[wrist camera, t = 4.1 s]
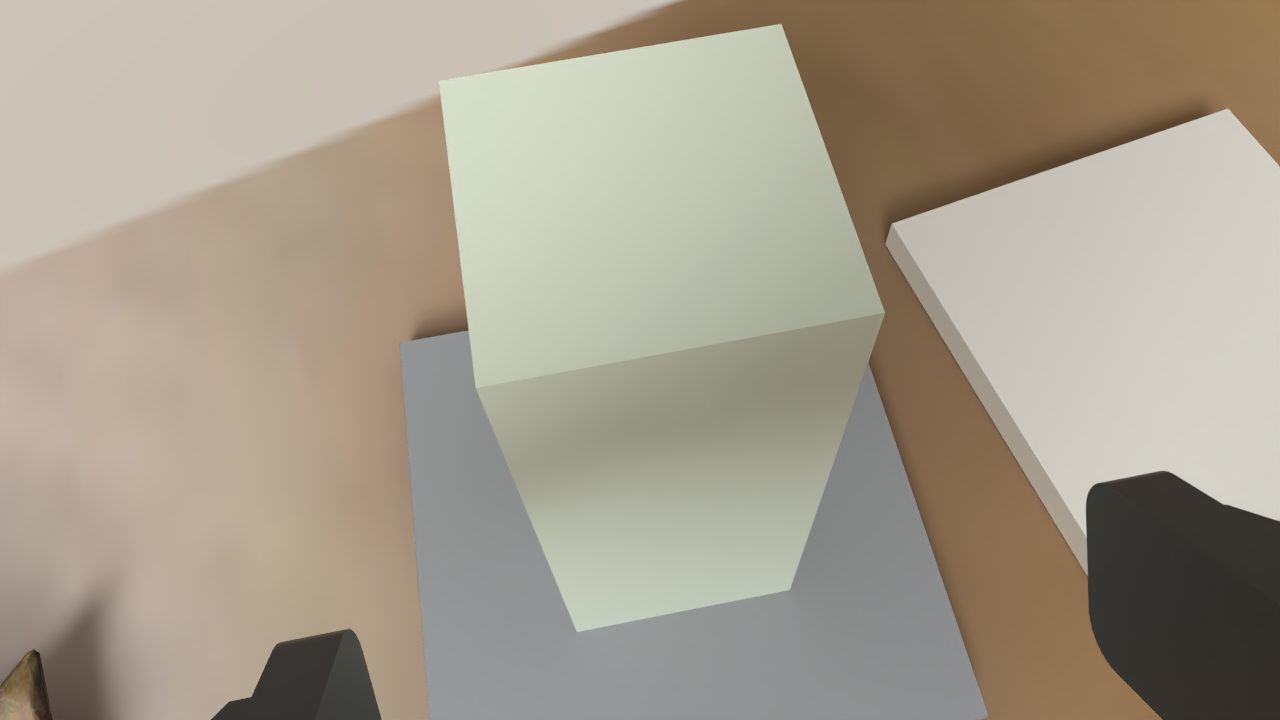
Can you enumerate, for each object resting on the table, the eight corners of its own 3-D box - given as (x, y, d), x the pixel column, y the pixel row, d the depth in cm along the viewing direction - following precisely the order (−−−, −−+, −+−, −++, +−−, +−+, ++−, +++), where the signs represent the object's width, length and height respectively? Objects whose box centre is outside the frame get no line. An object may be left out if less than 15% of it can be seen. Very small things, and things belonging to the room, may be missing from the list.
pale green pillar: (739, 399, 25) (781, 24, 14) (789, 590, 23) (884, 312, 12) (546, 435, 25) (439, 81, 14) (577, 632, 23) (476, 387, 12)
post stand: (830, 284, 28) (863, 141, 23) (976, 722, 22) (1067, 670, 17) (408, 360, 27) (342, 232, 22) (448, 832, 22) (371, 813, 16)
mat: (1212, 131, 30) (1228, 108, 29) (1480, 440, 25) (1510, 424, 24) (885, 244, 28) (891, 223, 28) (1100, 597, 23) (1116, 585, 23)
